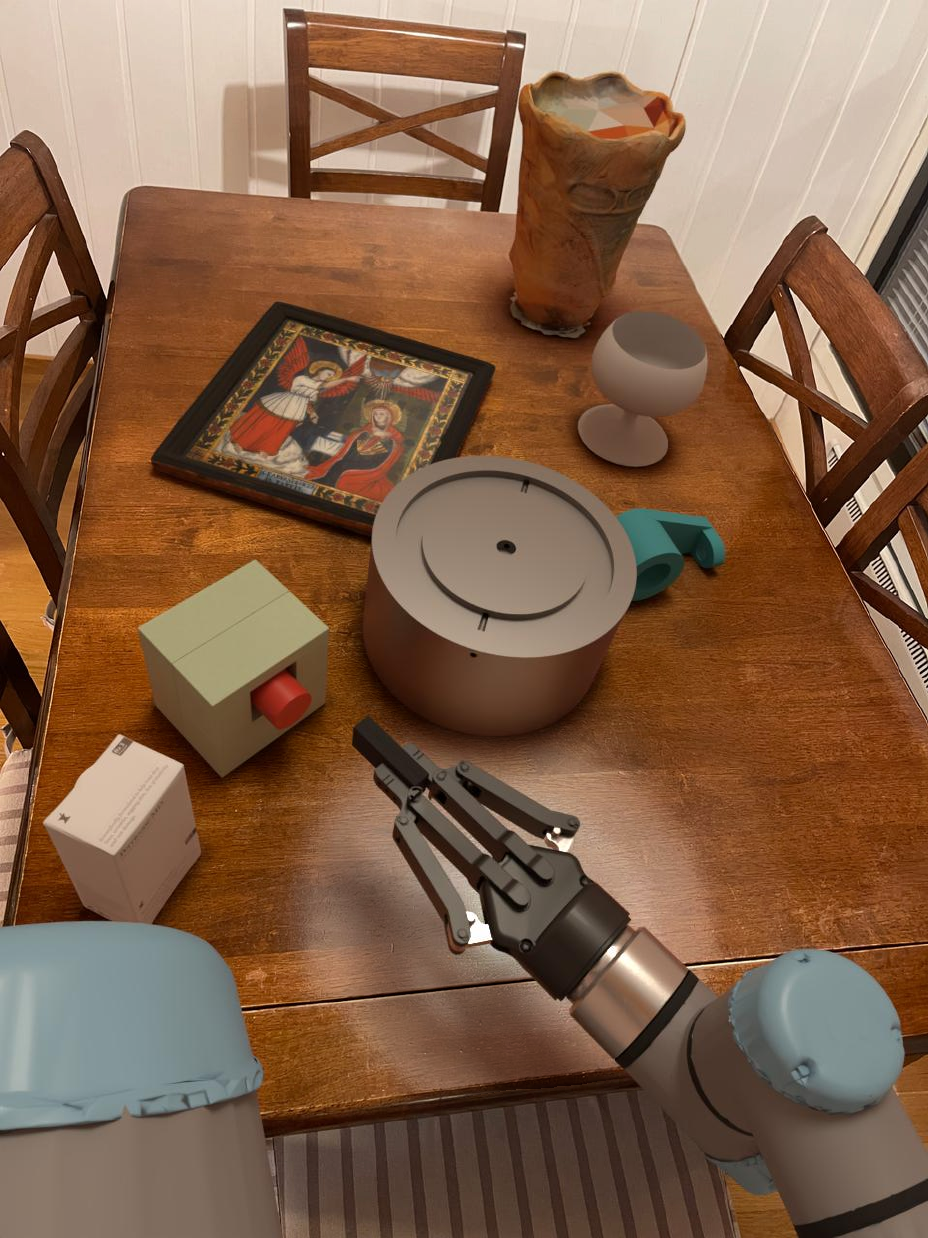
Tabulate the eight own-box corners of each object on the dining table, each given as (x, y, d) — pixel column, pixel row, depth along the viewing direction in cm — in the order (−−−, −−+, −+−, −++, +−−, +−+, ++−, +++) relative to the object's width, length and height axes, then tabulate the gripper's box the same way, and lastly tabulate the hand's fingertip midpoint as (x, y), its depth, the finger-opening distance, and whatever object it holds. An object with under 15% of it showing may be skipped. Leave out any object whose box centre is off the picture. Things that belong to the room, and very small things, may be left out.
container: (613, 580, 100) (650, 496, 90) (577, 767, 84) (617, 692, 74) (402, 518, 101) (415, 428, 91) (328, 692, 85) (333, 607, 75)
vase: (627, 290, 139) (695, 83, 115) (612, 363, 126) (685, 147, 103) (497, 255, 139) (539, 42, 116) (469, 324, 126) (509, 100, 103)
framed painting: (246, 306, 121) (245, 287, 119) (496, 363, 122) (500, 345, 119) (139, 494, 97) (135, 474, 95) (451, 563, 98) (454, 546, 96)
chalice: (568, 395, 120) (598, 296, 108) (667, 410, 121) (707, 314, 109) (572, 465, 111) (605, 366, 99) (679, 480, 112) (724, 384, 101)
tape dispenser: (585, 562, 101) (603, 514, 95) (694, 539, 106) (718, 493, 100) (611, 606, 98) (632, 560, 92) (722, 581, 103) (749, 535, 97)
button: (311, 710, 77) (312, 685, 74) (275, 737, 75) (274, 712, 72) (271, 670, 79) (270, 644, 76) (234, 695, 77) (232, 669, 74)
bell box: (325, 703, 85) (329, 628, 75) (221, 778, 78) (212, 706, 69) (259, 638, 88) (255, 558, 79) (154, 705, 82) (136, 627, 72)
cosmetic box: (143, 939, 69) (113, 865, 58) (78, 905, 70) (35, 825, 58) (205, 849, 74) (188, 764, 63) (143, 818, 75) (116, 728, 63)
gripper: (524, 1051, 58) (292, 805, 66) (640, 915, 65) (416, 708, 73) (549, 1023, 52) (291, 757, 60) (673, 877, 59) (426, 655, 67)
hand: (360, 730), depth 67 cm, fingers closed
